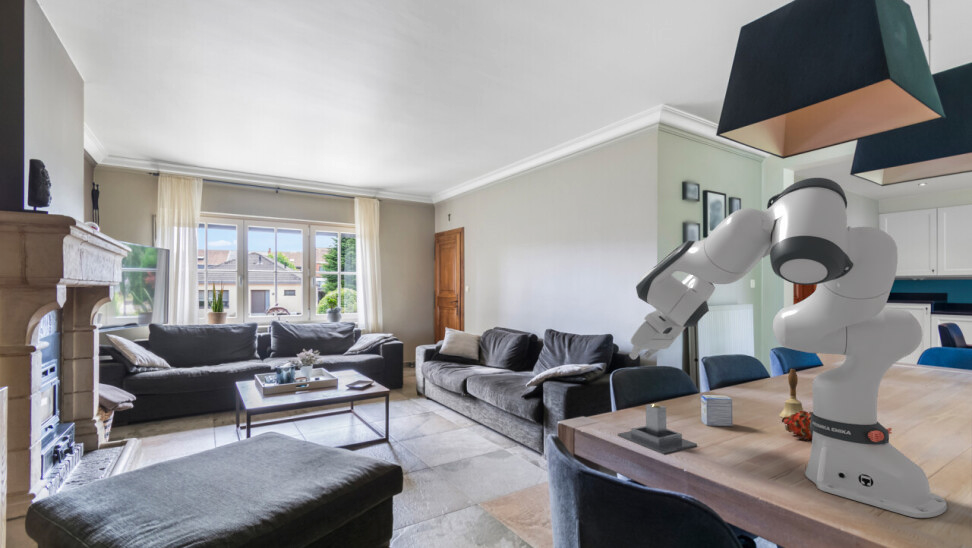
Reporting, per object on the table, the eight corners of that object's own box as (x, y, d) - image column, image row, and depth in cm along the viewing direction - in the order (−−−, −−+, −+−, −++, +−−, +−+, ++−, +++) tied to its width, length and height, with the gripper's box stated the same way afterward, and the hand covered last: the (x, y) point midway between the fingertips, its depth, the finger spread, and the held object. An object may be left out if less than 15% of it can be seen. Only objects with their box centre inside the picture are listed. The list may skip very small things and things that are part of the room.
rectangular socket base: (696, 446, 119) (696, 436, 119) (663, 454, 113) (663, 443, 113) (649, 429, 133) (649, 420, 133) (618, 435, 127) (618, 426, 127)
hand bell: (773, 413, 151) (772, 367, 151) (797, 414, 151) (796, 367, 151) (789, 421, 142) (788, 371, 143) (815, 421, 142) (814, 371, 143)
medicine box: (726, 422, 141) (726, 395, 141) (733, 427, 136) (732, 398, 136) (701, 421, 141) (700, 394, 142) (706, 426, 137) (706, 398, 137)
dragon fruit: (830, 452, 119) (785, 445, 130) (841, 430, 123) (796, 424, 134) (814, 428, 118) (770, 422, 129) (826, 406, 122) (782, 402, 133)
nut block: (666, 439, 122) (666, 405, 123) (657, 441, 121) (657, 407, 121) (654, 435, 126) (654, 402, 126) (646, 437, 124) (645, 403, 124)
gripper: (674, 316, 136) (646, 349, 141) (644, 313, 122) (615, 350, 127) (690, 330, 132) (662, 363, 137) (661, 329, 118) (630, 366, 123)
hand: (639, 357), depth 132 cm, fingers open, 8 cm apart
